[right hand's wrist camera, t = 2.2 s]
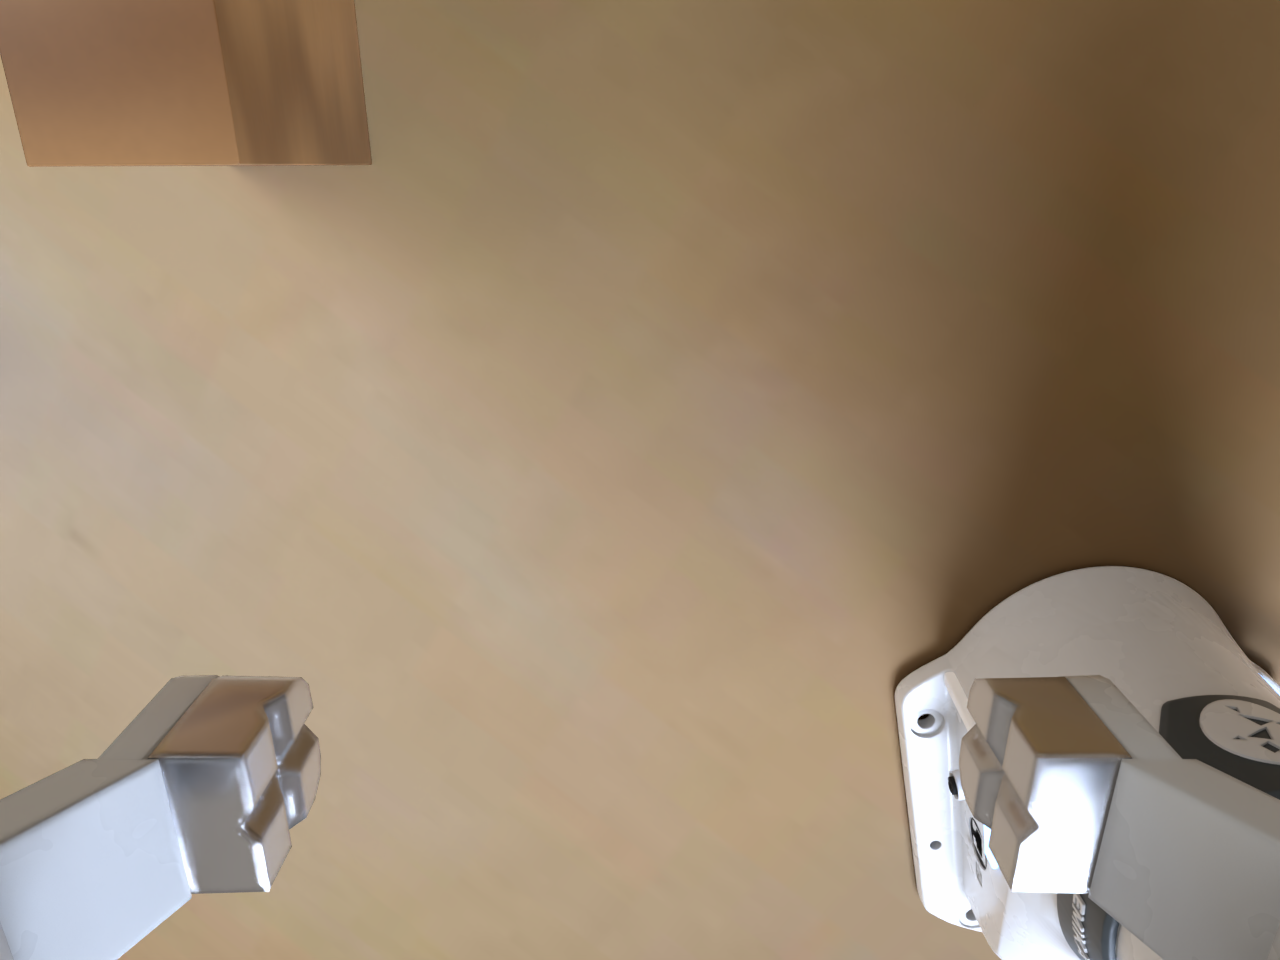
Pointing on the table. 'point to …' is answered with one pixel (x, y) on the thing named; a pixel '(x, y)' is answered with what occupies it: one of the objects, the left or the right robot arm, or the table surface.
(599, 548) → the table surface
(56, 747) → the table surface
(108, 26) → the box
